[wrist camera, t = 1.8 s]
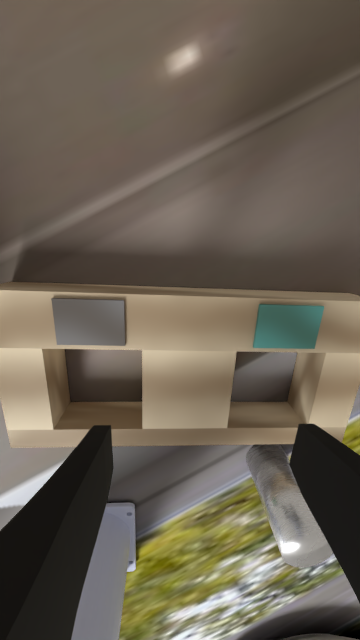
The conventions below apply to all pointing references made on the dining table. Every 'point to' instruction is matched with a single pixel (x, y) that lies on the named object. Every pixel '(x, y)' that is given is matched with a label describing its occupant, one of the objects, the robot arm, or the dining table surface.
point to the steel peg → (286, 507)
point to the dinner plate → (318, 637)
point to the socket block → (175, 362)
